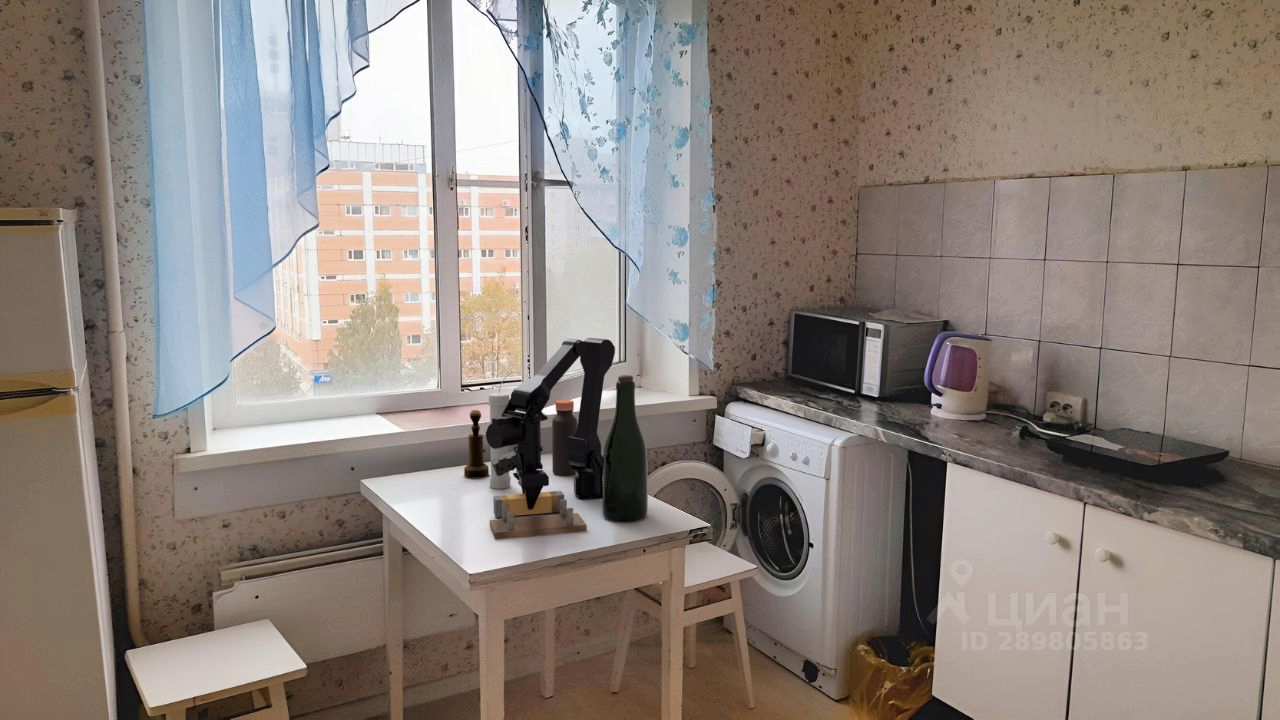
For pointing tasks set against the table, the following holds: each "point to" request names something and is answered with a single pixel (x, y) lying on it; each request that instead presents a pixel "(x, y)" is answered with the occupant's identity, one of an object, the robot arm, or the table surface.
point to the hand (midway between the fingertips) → (529, 506)
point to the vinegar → (562, 436)
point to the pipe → (500, 482)
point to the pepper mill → (476, 450)
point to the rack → (537, 523)
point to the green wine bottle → (625, 460)
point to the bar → (518, 503)
